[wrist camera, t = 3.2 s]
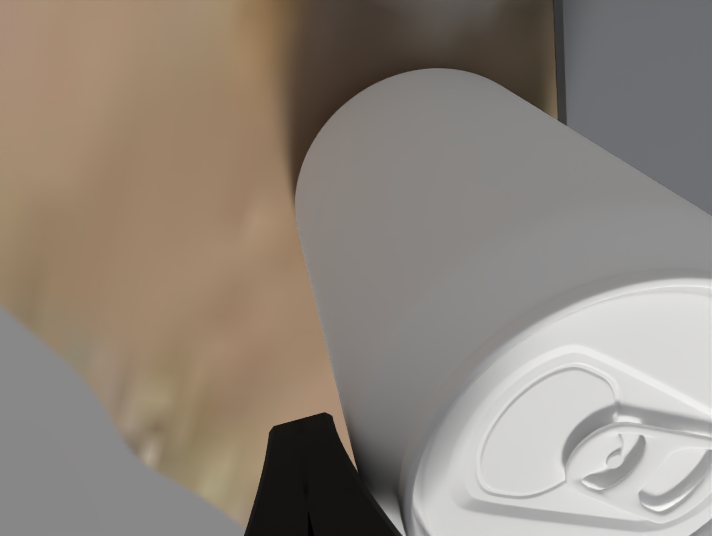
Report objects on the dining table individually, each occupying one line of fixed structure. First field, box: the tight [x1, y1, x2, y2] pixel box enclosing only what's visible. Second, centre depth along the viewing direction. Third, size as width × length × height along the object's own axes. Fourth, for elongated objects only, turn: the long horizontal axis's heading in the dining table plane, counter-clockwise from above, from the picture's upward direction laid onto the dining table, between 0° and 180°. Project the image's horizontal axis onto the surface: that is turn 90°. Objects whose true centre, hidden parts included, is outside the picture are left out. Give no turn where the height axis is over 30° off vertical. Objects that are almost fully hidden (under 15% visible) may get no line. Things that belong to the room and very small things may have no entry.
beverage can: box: [295, 68, 712, 536], centre depth 16 cm, size 8×8×12 cm
